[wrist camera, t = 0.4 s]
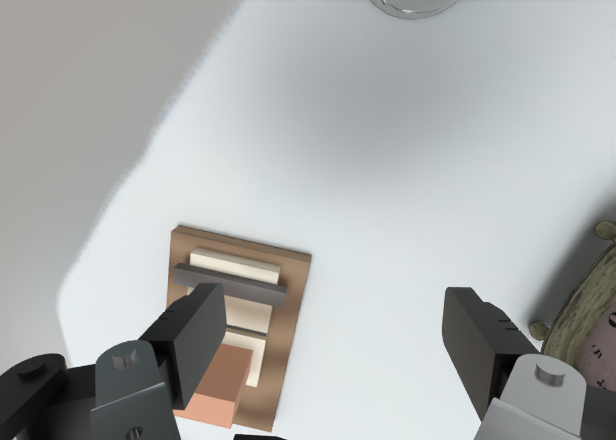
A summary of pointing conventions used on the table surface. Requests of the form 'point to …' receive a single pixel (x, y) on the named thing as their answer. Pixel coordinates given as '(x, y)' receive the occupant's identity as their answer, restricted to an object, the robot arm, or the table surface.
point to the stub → (226, 379)
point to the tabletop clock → (588, 321)
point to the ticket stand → (246, 302)
